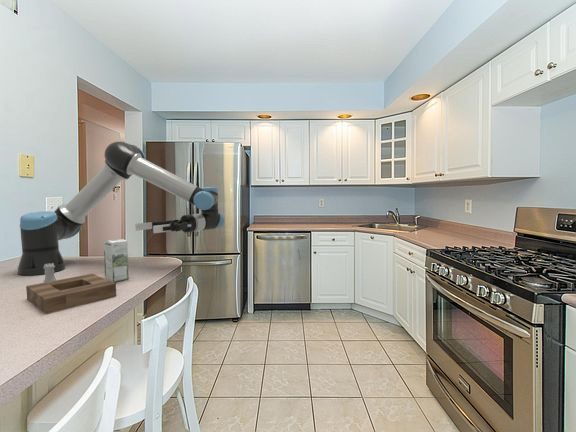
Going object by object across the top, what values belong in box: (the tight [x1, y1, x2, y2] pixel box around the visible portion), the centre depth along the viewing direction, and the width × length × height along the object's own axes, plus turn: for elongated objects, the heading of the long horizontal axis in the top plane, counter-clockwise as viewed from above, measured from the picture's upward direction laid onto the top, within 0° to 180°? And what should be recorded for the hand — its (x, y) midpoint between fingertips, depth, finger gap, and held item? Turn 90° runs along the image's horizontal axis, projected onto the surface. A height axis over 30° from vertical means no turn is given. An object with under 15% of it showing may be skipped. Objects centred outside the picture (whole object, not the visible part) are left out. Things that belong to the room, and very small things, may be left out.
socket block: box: [25, 273, 117, 315], centre depth 98 cm, size 18×18×4 cm
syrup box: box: [103, 238, 129, 283], centre depth 116 cm, size 6×6×14 cm
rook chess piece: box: [42, 263, 57, 283], centre depth 107 cm, size 4×4×8 cm
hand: (144, 228), depth 123 cm, fingers open, 13 cm apart
